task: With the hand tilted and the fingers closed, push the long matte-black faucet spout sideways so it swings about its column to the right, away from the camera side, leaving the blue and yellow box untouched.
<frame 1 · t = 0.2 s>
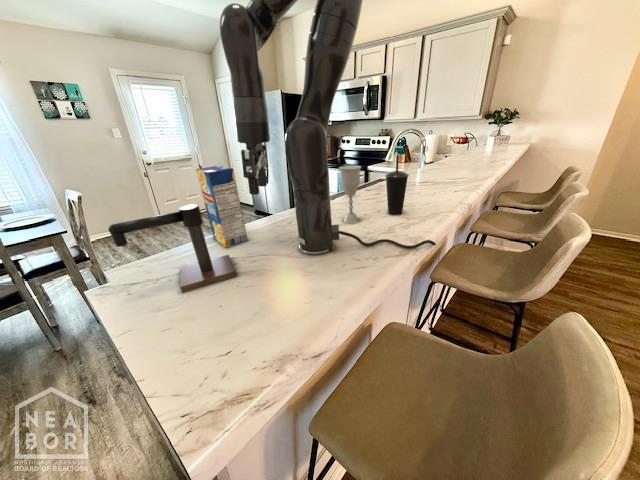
hand: (259, 189, 67), 17 cm above the breakfast bar, tool pointing down, fingers open, 8 cm apart
chalice: (351, 221, 91), on the breakfast bar
drinking cup: (394, 213, 95), on the breakfast bar
spout: (159, 224, 56), point 15 cm above the breakfast bar, hinge at 0.0°
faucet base: (208, 274, 64), on the breakfast bar
blue and yellow box: (230, 239, 84), on the breakfast bar
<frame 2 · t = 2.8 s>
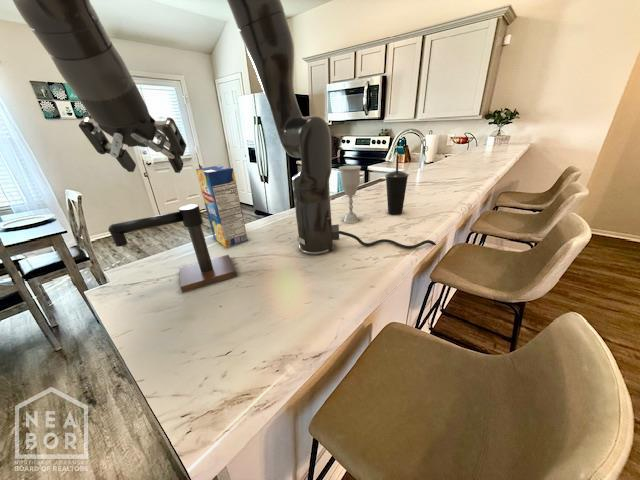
hand: (156, 169, 51), 26 cm above the breakfast bar, tool tilted 35°, fingers open, 8 cm apart
nothing on the breakfast bar moved.
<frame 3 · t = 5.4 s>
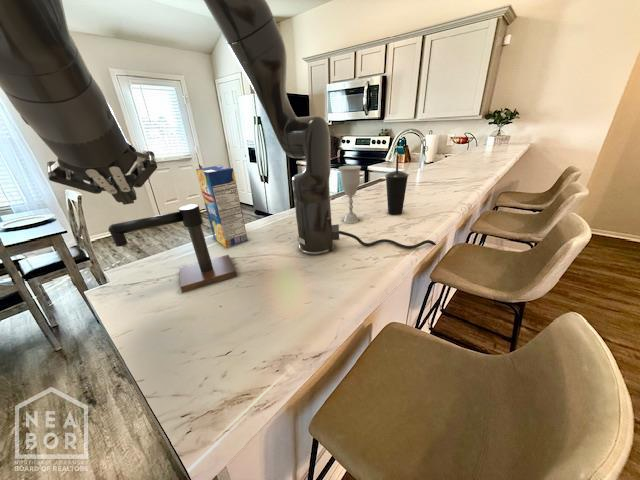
hand: (128, 199, 44), 23 cm above the breakfast bar, tool tilted 45°, fingers closed
nothing on the breakfast bar moved.
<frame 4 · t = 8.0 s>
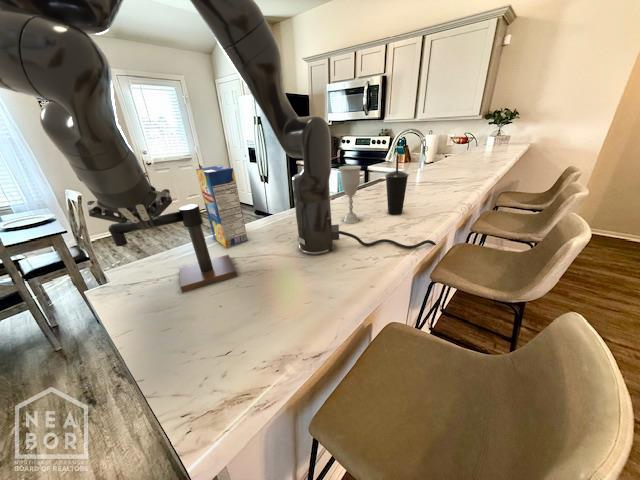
hand: (146, 225, 54), 15 cm above the breakfast bar, tool tilted 45°, fingers closed
spout: (159, 224, 56), point 15 cm above the breakfast bar, hinge at -0.4°, touching gripper
everything else where it was.
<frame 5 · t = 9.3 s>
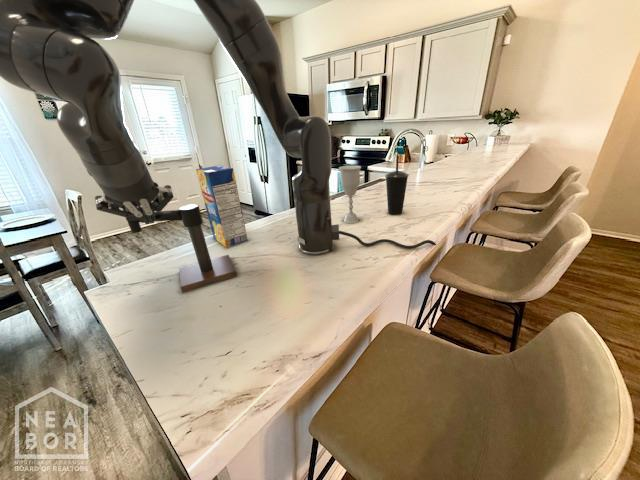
hand: (149, 220, 57), 15 cm above the breakfast bar, tool tilted 45°, fingers closed
spout: (164, 219, 59), point 15 cm above the breakfast bar, hinge at -31.0°, touching gripper
everything else where it was.
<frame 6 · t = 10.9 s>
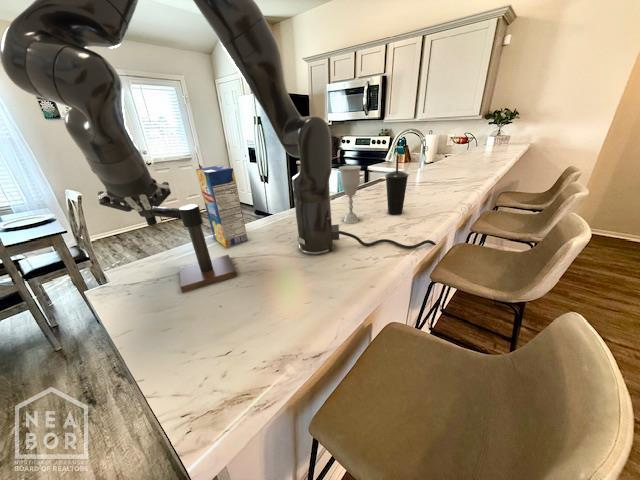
hand: (148, 214, 61), 15 cm above the breakfast bar, tool tilted 45°, fingers closed
spout: (171, 216, 61), point 15 cm above the breakfast bar, hinge at -49.9°
everything else where it was.
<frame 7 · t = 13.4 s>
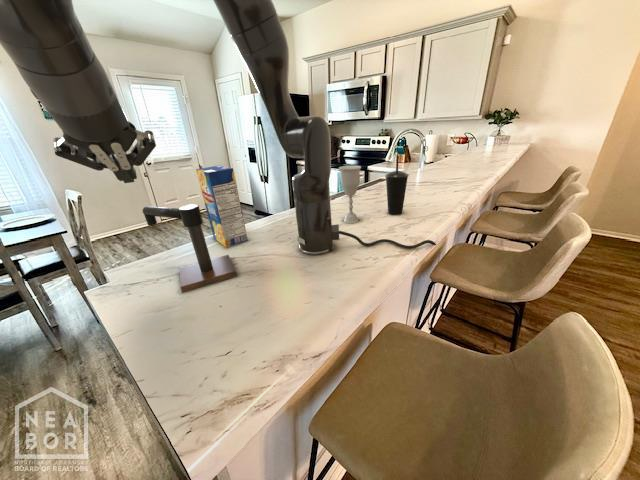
hand: (128, 178, 47), 25 cm above the breakfast bar, tool tilted 45°, fingers closed
nothing on the breakfast bar moved.
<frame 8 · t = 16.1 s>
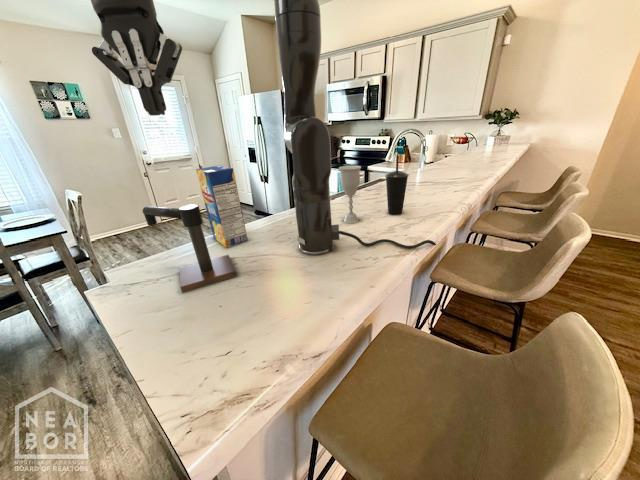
hand: (157, 115, 42), 35 cm above the breakfast bar, tool pointing down, fingers closed
nothing on the breakfast bar moved.
at the end: spout at -50° (first picture: +0°); blue and yellow box moved 0.2 cm from its start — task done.
